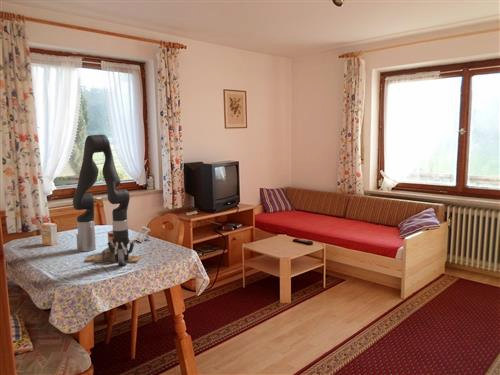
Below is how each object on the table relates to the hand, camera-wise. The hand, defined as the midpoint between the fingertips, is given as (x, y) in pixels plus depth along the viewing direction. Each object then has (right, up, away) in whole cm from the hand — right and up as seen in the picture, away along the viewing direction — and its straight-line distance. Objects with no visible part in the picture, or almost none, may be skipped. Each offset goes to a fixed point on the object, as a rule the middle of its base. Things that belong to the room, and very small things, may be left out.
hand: (122, 260), depth 200 cm
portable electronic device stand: (-2, +4, +48) cm, 48 cm away
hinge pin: (0, -2, 0) cm, 2 cm away
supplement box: (-58, +2, +41) cm, 71 cm away
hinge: (-7, -1, +9) cm, 12 cm away
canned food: (-11, 0, +24) cm, 27 cm away
